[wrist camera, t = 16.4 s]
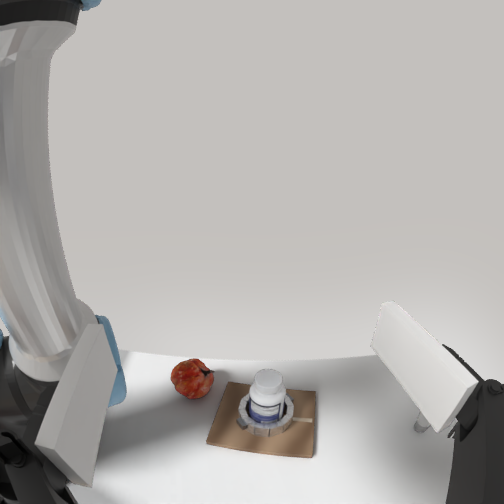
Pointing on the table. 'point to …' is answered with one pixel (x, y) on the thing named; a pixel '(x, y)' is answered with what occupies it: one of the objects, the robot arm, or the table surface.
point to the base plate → (233, 437)
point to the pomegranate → (192, 378)
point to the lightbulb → (421, 423)
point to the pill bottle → (267, 397)
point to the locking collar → (263, 428)
